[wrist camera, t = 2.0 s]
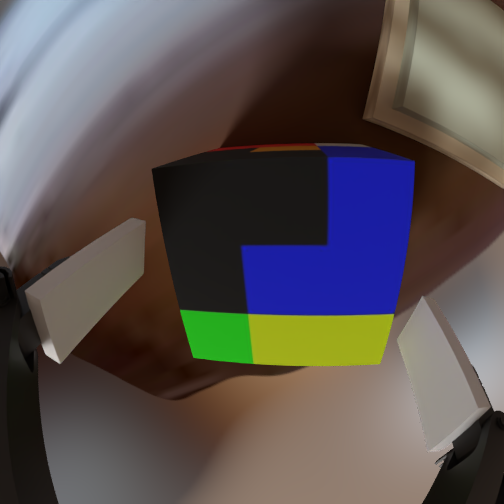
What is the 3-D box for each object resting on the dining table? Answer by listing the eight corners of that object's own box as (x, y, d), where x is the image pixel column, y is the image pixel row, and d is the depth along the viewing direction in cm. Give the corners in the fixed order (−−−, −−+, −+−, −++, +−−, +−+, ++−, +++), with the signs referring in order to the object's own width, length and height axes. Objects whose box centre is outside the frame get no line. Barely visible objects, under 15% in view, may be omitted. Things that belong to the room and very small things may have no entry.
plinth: (388, -27, 10) (406, -56, 6) (520, 54, 9) (553, 49, 5) (362, 119, 16) (382, 116, 12) (501, 187, 16) (536, 205, 11)
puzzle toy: (360, 144, 17) (415, 160, 8) (355, 271, 21) (380, 364, 13) (220, 147, 19) (151, 168, 10) (233, 271, 23) (193, 357, 14)
